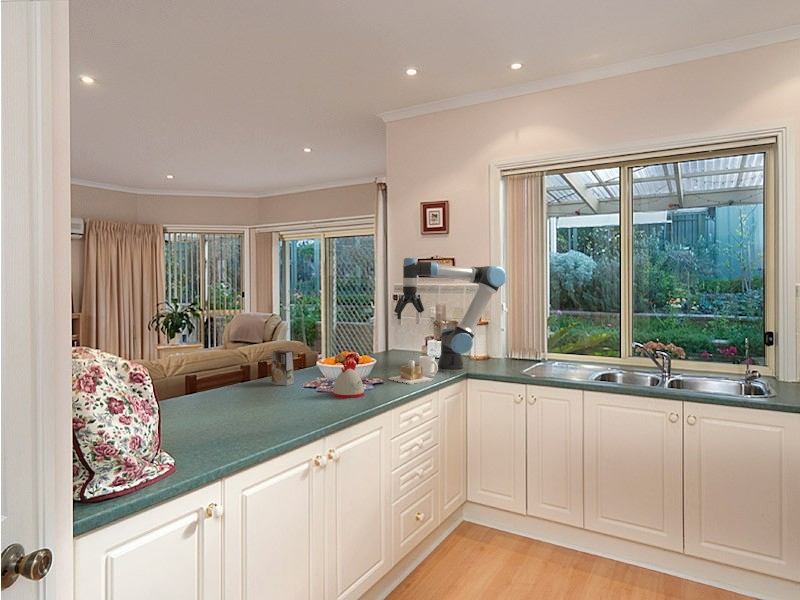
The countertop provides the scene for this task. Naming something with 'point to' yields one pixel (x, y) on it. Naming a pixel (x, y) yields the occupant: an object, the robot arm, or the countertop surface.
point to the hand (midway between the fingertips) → (409, 324)
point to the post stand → (411, 365)
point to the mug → (428, 365)
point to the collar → (411, 372)
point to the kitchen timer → (348, 383)
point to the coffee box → (282, 367)
